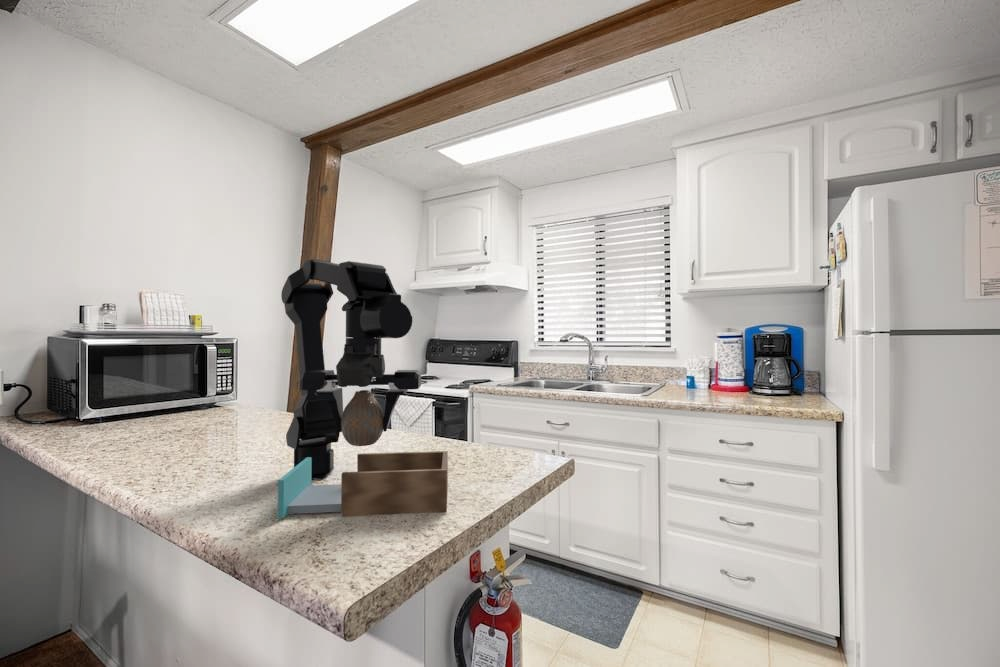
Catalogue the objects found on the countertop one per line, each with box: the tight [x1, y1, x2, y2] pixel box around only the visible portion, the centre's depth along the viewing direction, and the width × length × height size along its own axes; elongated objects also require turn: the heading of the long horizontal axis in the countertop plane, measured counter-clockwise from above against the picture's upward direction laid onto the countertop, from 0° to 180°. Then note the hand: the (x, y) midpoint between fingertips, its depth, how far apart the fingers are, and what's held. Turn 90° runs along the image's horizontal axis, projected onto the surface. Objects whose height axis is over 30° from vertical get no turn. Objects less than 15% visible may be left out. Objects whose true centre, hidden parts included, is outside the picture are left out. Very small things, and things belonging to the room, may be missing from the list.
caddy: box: [340, 450, 449, 517], centre depth 74 cm, size 16×12×6 cm
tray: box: [277, 457, 341, 520], centre depth 73 cm, size 16×13×6 cm
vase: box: [341, 389, 384, 447], centre depth 73 cm, size 7×7×9 cm
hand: (362, 431), depth 73 cm, fingers closed on vase, 7 cm apart
